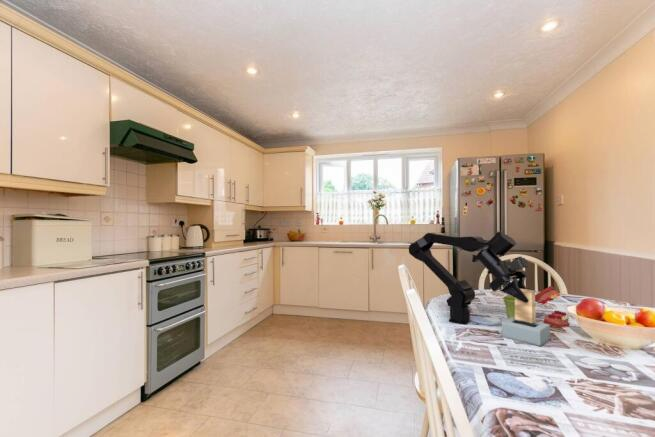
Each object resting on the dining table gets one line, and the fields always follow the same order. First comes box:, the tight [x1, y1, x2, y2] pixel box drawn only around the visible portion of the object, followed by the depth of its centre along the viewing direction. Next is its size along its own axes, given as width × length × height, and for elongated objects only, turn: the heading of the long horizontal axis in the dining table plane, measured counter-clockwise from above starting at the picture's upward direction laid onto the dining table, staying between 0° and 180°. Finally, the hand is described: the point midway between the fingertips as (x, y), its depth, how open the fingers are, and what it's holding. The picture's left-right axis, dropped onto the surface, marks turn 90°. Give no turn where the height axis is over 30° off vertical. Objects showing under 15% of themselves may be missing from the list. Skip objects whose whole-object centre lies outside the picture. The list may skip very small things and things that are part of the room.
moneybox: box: [501, 317, 551, 348], centre depth 100 cm, size 11×9×5 cm
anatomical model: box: [535, 285, 570, 328], centre depth 115 cm, size 10×8×15 cm
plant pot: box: [502, 295, 515, 319], centre depth 117 cm, size 9×9×9 cm
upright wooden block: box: [515, 288, 536, 323], centre depth 100 cm, size 5×3×10 cm, turn 38°
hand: (529, 301), depth 99 cm, fingers closed on upright wooden block, 3 cm apart
